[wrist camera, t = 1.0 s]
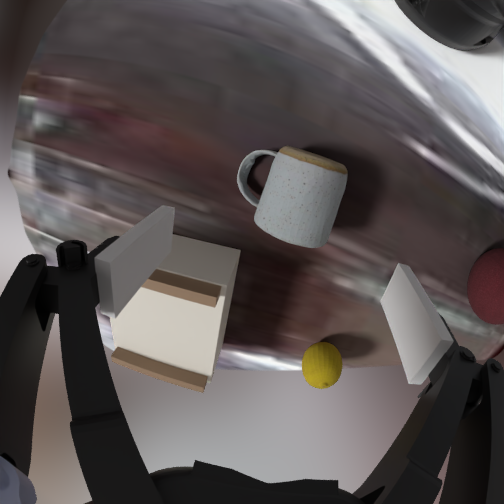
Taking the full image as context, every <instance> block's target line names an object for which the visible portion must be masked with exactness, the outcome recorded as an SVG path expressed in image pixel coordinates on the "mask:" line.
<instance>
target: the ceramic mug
mask: <svg viewBox="0 0 504 504" xmlns="http://www.w3.org/2000/svg"><path fill="white" fill-rule="evenodd" d="M264 154H269V155H272V156H275V159H274V161H273V164H272V166H271V170H270V173H269V176H268V179H267V182H266V185H265V187H264V190H263V193H262V196H261V199H260V201H259V200H258V199H257V198H256V197H255V196H254V195H253V194H252V193H251V192H250V190H249V188H248V186H247V177H248V174H249V172H250V169H251V167H252V165H253V164H254V163H255V159H256V158H257V157H258V156H261V155H264ZM347 176H348V172H347V169H346V167H345V166H344V165H343V164H341V163H338V162H336V161H333V160H331V159H328V158H325V157H322V156H320V155H317V154H314V153H311V152H308V151H305V150H301V149H298V148H295V147H290V146H285V147H283V148H281V149H280V150H279V152H276V151H270V150H257V151H254V152H252V153H250V154H249V155H248V156H246V157H245V159H244V160H243V161H242V163H241V165H240V168H239V171H238V175H237V182H238V186H239V189H240V191H241V193H242V194H243V196H244V197H245V198H246V199H247V200H248V201H249V202H250V203H251V204H252V205H254V206H255V207H257V210H256V213H255V217H254V221H255V222H256V224H257V225H258V226H259V227H260V228H261V229H262V230H264V231H265V232H267V233H269V234H271V235H272V236H274V237H276V238H278V239H280V240H283V241H286V242H288V243H291V244H295V245H300V246H303V247H309V248H317V247H322V246H324V245H325V244H326V243H327V241H328V238H329V235H330V232H331V229H332V226H333V223H334V221H335V218H336V215H337V212H338V208H339V205H340V202H341V199H342V197H343V194H344V191H345V188H346V182H347Z"/></svg>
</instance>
